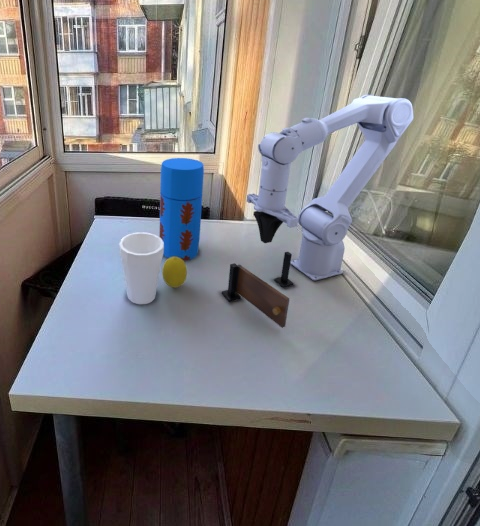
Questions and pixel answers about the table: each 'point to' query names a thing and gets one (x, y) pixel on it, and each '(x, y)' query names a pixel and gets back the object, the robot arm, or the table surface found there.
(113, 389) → the table surface
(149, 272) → the foam cup
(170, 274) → the lemon
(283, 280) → the door frame
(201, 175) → the thermos
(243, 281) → the door
